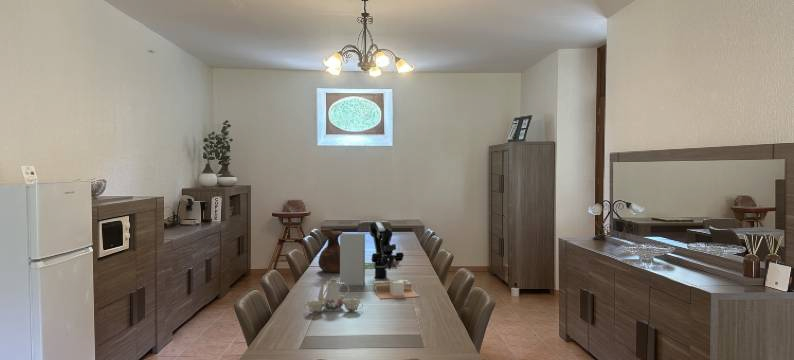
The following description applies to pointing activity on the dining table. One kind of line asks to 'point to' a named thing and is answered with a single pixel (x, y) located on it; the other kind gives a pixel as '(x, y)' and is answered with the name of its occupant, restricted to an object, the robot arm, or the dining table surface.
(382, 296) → the mat
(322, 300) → the chinaware
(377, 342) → the dining table surface
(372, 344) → the dining table surface
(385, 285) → the board
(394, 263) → the decorative card
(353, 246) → the tall white box
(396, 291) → the block
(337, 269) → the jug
